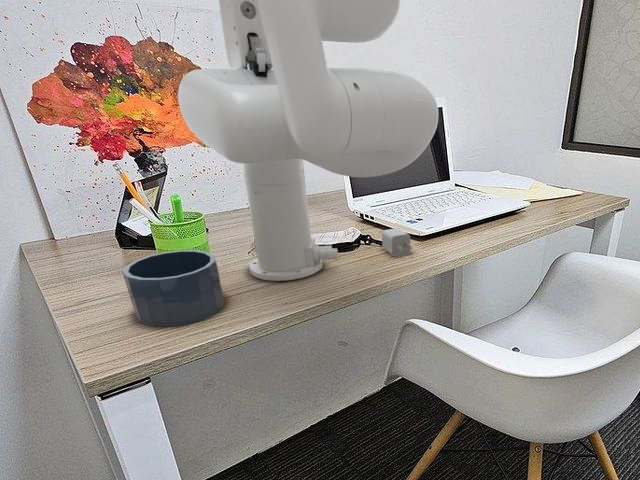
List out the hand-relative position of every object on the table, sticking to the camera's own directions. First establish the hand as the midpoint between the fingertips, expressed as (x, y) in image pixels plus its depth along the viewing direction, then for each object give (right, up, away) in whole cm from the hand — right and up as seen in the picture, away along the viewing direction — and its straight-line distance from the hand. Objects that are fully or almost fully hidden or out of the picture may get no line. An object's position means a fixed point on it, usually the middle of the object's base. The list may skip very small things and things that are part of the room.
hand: (255, 111), depth 75 cm
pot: (-9, -31, -5) cm, 33 cm away
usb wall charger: (+22, -21, +16) cm, 35 cm away
